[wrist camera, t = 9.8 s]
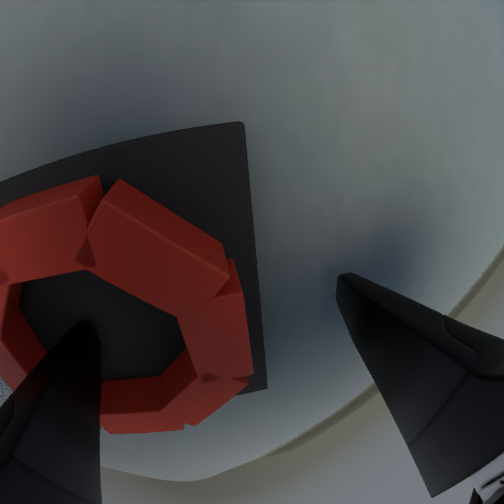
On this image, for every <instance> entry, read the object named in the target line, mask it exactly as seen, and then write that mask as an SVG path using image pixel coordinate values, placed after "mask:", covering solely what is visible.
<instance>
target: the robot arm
mask: <svg viewBox="0 0 504 504" xmlns="http://www.w3.org/2000/svg"><path fill="white" fill-rule="evenodd" d="M336 302H337V305H338V307H339V309H340V312H341V314H342V317H343V319H344V321H345V324H346V326H347V329H348V331H349V334H350V336H351V338H352V340H353V342H354V344H355V346H356V348H357V350H358V352H359V354H360V356H361V357H362V359H363V361H364V363H365V365H366V367H367V368H368V370H369V372H370V374H371V376H372V378H373V380H374V382H375V383H376V385H377V387H378V389H379V391H380V393H381V395H382V397H383V399H384V401H385V403H386V405H387V406H388V408H389V410H390V412H391V414H392V416H393V418H394V420H395V422H396V424H397V426H398V428H399V430H400V432H401V434H402V436H403V438H404V440H405V442H406V444H407V446H408V449H409V451H410V453H411V455H412V457H413V459H414V461H415V464H416V466H417V468H418V470H419V472H420V474H421V476H422V479H423V481H424V483H425V485H426V487H427V490H428V492H429V494H430V496H431V497H432V498H433V497H435V496H437V495H439V494H440V493H442V492H444V491H446V490H448V489H449V488H451V487H453V486H455V485H456V484H458V483H460V482H461V481H463V480H465V479H466V478H467V477H469V478H470V480H471V482H472V484H473V486H474V489H473V492H472V496H471V499H470V503H469V504H504V339H501V338H499V337H496V336H493V335H491V334H488V333H486V332H483V331H480V330H478V329H475V328H473V327H470V326H468V325H465V324H463V323H461V322H459V321H457V320H454V319H452V318H450V317H448V316H446V315H442V314H441V313H439V312H437V311H435V310H433V309H431V308H429V307H426V306H424V305H422V304H420V303H418V302H416V301H414V300H411V299H409V298H407V297H405V296H403V295H400V294H398V293H396V292H394V291H392V290H390V289H387V288H385V287H383V286H381V285H378V284H376V283H374V282H372V281H370V280H367V279H365V278H363V277H361V276H358V275H356V274H354V273H351V272H348V273H344V274H340V275H339V276H338V278H337V286H336ZM101 392H102V375H101V341H100V338H99V337H98V335H97V333H96V331H95V329H94V327H93V325H92V324H91V322H90V321H88V320H83V321H77V322H76V323H75V324H74V325H73V326H72V327H71V328H70V329H69V330H68V331H67V332H66V333H65V334H64V335H63V337H62V338H61V339H60V340H59V341H58V342H57V343H56V344H55V345H54V346H53V347H52V348H51V349H50V351H49V352H48V353H47V354H46V355H45V356H44V357H43V358H42V359H41V360H40V362H39V363H38V364H37V365H36V366H35V367H34V368H33V369H32V371H31V372H30V373H29V374H28V375H27V376H26V377H25V379H24V380H23V381H22V382H21V383H20V384H19V386H18V387H17V388H16V389H15V390H14V392H13V394H11V395H10V396H9V398H8V399H7V400H6V401H5V402H4V404H3V405H2V406H1V407H0V504H102V495H101V481H100V410H101Z"/></svg>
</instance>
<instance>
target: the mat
mask: <svg viewBox="0 0 504 504" xmlns="http://www.w3.org/2000/svg"><path fill="white" fill-rule="evenodd" d="M94 175H99V177H100V180H101V184H102V188H103V192H104V196H105V195H106V194H107V192H108V191H109V190H110V189H111V187H112V186H113V185H114V184H115V182H116V181H117V180H118V179H122V180H123V181H125V182H126V183H128V184H129V185H131V186H133V187H134V188H136V189H137V190H139V191H140V192H142V193H144V194H145V195H147V196H148V197H150V198H151V199H153V200H155V201H156V202H158V203H159V204H161V205H162V206H164V207H166V208H167V209H169V210H170V211H172V212H173V213H175V214H177V215H178V216H180V217H181V218H183V219H184V220H186V221H188V222H189V223H191V224H192V225H194V226H196V227H197V228H199V229H200V230H202V231H203V232H205V233H207V234H208V235H210V236H211V237H213V238H215V239H216V240H218V241H219V242H221V243H222V246H223V250H224V254H225V257H226V259H228V258H232V259H233V261H234V265H235V268H236V271H237V275H238V278H239V281H240V284H241V288H242V291H243V296H244V303H245V311H246V318H247V326H248V334H249V341H250V348H251V356H252V363H253V370H254V373H253V374H252V375H247V380H248V385H247V386H246V387H245V388H244V389H242V390H241V391H240V392H239V393H237V394H236V395H240V394H245V393H250V392H255V391H259V390H264V389H267V376H266V364H265V352H264V340H263V329H262V317H261V305H260V294H259V282H258V271H257V260H256V248H255V237H254V226H253V214H252V203H251V192H250V181H249V170H248V159H247V148H246V137H245V127H244V123H242V122H239V121H238V122H230V123H222V124H214V125H207V126H200V127H194V128H188V129H182V130H176V131H171V132H166V133H160V134H155V135H151V136H146V137H141V138H137V139H133V140H128V141H124V142H120V143H116V144H112V145H108V146H105V147H101V148H97V149H94V150H90V151H87V152H83V153H80V154H77V155H73V156H70V157H67V158H64V159H61V160H58V161H55V162H52V163H49V164H46V165H43V166H41V167H38V168H35V169H32V170H30V171H27V172H25V173H22V174H20V175H17V176H15V177H12V178H10V179H7V180H5V181H3V182H0V208H1V207H2V206H4V205H5V204H7V203H9V202H12V201H15V200H18V199H20V198H23V197H26V196H29V195H32V194H35V193H38V192H41V191H44V190H47V189H50V188H53V187H56V186H59V185H63V184H66V183H69V182H73V181H76V180H80V179H83V178H87V177H90V176H94ZM18 307H19V309H20V310H21V312H22V314H23V316H24V317H25V319H26V321H27V322H28V324H29V326H30V327H31V329H32V330H33V332H34V334H35V335H36V337H37V338H38V340H39V341H40V343H41V344H42V346H43V347H44V349H45V350H46V352H47V353H48V352H49V351H50V349H51V348H52V347H53V346H54V345H55V344H56V343H57V342H58V341H59V340H60V339H61V338H62V337H63V335H64V334H65V333H66V332H67V331H68V330H69V329H70V328H71V327H72V326H73V325H74V324H75V323H76V322H77V321H83V320H88V321H90V322H91V324H92V325H93V327H94V329H95V331H96V333H97V335H98V337H99V338H100V341H101V375H102V380H103V381H109V380H122V379H133V378H143V377H152V376H160V375H161V374H162V373H163V372H164V371H165V370H166V369H167V368H168V366H169V365H170V364H171V363H172V362H173V361H174V360H175V359H176V358H177V357H178V356H179V354H180V353H181V352H182V351H183V350H184V349H185V348H186V347H187V346H186V344H185V341H184V338H183V335H182V332H181V329H180V326H179V323H178V320H177V317H175V316H173V315H171V314H169V313H167V312H165V311H163V310H161V309H159V308H157V307H155V306H153V305H151V304H149V303H147V302H145V301H143V300H141V299H139V298H137V297H135V296H133V295H132V294H130V293H128V292H126V291H124V290H122V289H120V288H118V287H117V286H115V285H113V284H111V283H109V282H107V281H106V280H104V279H102V278H100V277H99V276H97V275H95V274H93V273H92V272H90V271H88V270H81V271H76V272H70V273H65V274H60V275H55V276H50V277H45V278H40V279H35V280H30V281H25V282H24V284H23V287H22V291H21V295H20V299H19V303H18Z"/></svg>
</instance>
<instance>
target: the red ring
mask: <svg viewBox="0 0 504 504" xmlns="http://www.w3.org/2000/svg"><path fill="white" fill-rule="evenodd" d="M81 270H88V271H90V272H92V273H93V274H95V275H97V276H99V277H100V278H102V279H104V280H106V281H107V282H109V283H111V284H113V285H115V286H117V287H118V288H120V289H122V290H124V291H126V292H128V293H130V294H132V295H133V296H135V297H137V298H139V299H141V300H143V301H145V302H147V303H149V304H151V305H153V306H155V307H157V308H159V309H161V310H163V311H165V312H167V313H169V314H171V315H173V316H175V317H177V320H178V323H179V326H180V329H181V332H182V335H183V338H184V341H185V344H186V346H187V347H186V348H185V349H184V350H183V351H182V352H181V353H180V354H179V356H178V357H177V358H176V359H175V360H174V361H173V362H172V363H171V364H170V365H169V366H168V368H167V369H166V370H165V371H164V372H163V373H162V374H161V375H160V376H152V377H143V378H133V379H122V380H109V381H103V380H102V392H101V410H100V427H101V426H102V427H103V428H104V429H105V430H106V431H107V432H108V433H110V434H128V433H149V432H163V431H174V430H183V428H184V427H183V423H185V424H189V425H193V426H196V425H197V424H198V423H200V422H201V421H202V420H204V419H205V418H206V417H208V416H209V415H210V414H212V413H213V412H214V411H216V410H217V409H218V408H220V407H221V406H222V405H223V404H225V403H226V402H227V401H229V400H230V399H231V398H232V397H234V396H235V395H236V394H237V393H239V392H240V391H241V390H242V389H244V388H245V387H246V386H247V385H248V380H247V375H252V374H253V373H254V370H253V363H252V356H251V348H250V341H249V334H248V326H247V318H246V311H245V303H244V296H243V291H242V288H241V284H240V281H239V278H238V275H237V271H236V268H235V265H234V261H233V259H232V258H228V259H226V257H225V254H224V250H223V246H222V243H221V242H219V241H218V240H216V239H215V238H213V237H211V236H210V235H208V234H207V233H205V232H203V231H202V230H200V229H199V228H197V227H196V226H194V225H192V224H191V223H189V222H188V221H186V220H184V219H183V218H181V217H180V216H178V215H177V214H175V213H173V212H172V211H170V210H169V209H167V208H166V207H164V206H162V205H161V204H159V203H158V202H156V201H155V200H153V199H151V198H150V197H148V196H147V195H145V194H144V193H142V192H140V191H139V190H137V189H136V188H134V187H133V186H131V185H129V184H128V183H126V182H125V181H123V180H122V179H118V180H117V181H116V182H115V184H114V185H113V186H112V187H111V189H110V190H109V191H108V192H107V194H106V195H105V196H104V192H103V188H102V184H101V180H100V177H99V175H94V176H90V177H87V178H83V179H80V180H76V181H73V182H69V183H66V184H63V185H59V186H56V187H53V188H50V189H47V190H44V191H41V192H38V193H35V194H32V195H29V196H26V197H23V198H20V199H18V200H15V201H12V202H9V203H7V204H5V205H4V206H2V207H1V208H0V376H1V378H2V379H3V380H4V381H5V382H6V383H7V385H8V386H9V387H10V388H11V389H12V390H13V391H14V390H15V389H16V388H17V387H18V386H19V384H20V383H21V382H22V381H23V380H24V379H25V377H26V376H27V375H28V374H29V373H30V372H31V371H32V369H33V368H34V367H35V366H36V365H37V364H38V363H39V362H40V360H41V359H42V358H43V357H44V356H45V355H46V354H47V352H46V350H45V349H44V347H43V346H42V344H41V343H40V341H39V340H38V338H37V337H36V335H35V334H34V332H33V330H32V329H31V327H30V326H29V324H28V322H27V321H26V319H25V317H24V316H23V314H22V312H21V310H20V309H19V307H18V303H19V299H20V295H21V291H22V287H23V284H24V282H25V281H30V280H35V279H40V278H45V277H50V276H55V275H60V274H65V273H70V272H76V271H81Z"/></svg>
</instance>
